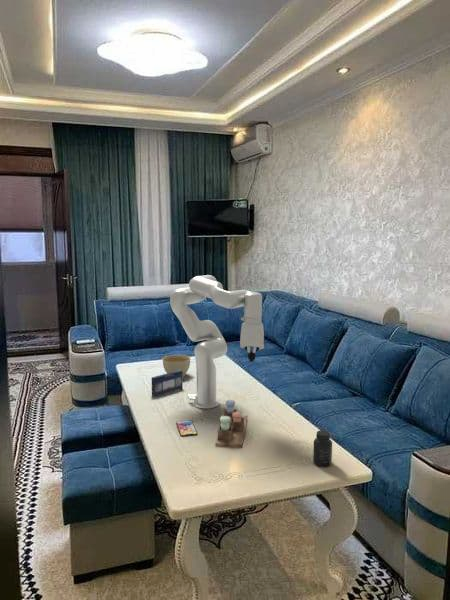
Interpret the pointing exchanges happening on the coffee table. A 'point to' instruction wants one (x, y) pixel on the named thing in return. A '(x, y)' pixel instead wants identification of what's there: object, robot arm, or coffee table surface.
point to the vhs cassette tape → (167, 383)
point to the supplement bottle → (322, 449)
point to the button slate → (230, 406)
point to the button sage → (225, 423)
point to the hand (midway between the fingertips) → (251, 360)
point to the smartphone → (186, 428)
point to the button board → (232, 432)
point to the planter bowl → (176, 363)
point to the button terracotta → (236, 416)
